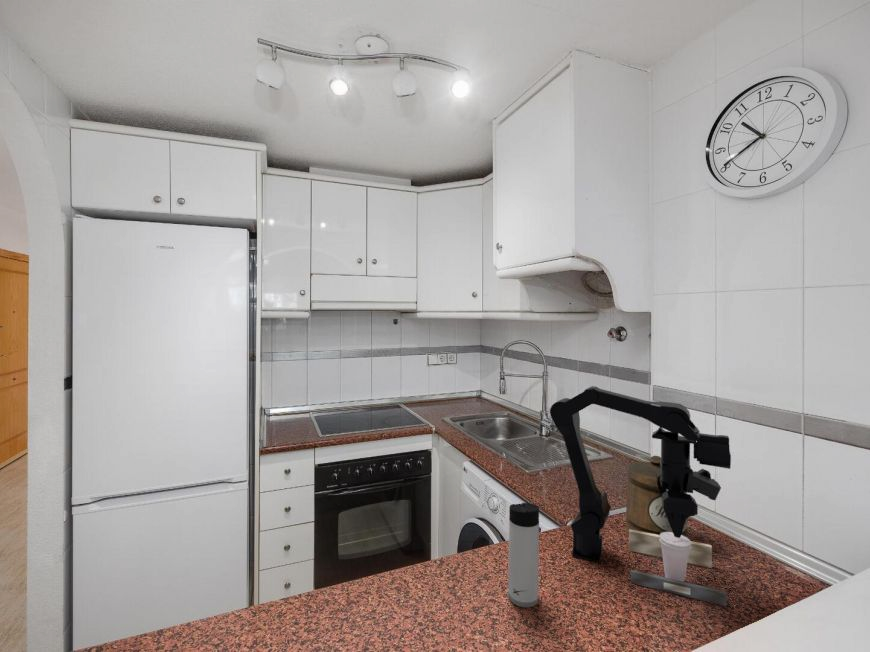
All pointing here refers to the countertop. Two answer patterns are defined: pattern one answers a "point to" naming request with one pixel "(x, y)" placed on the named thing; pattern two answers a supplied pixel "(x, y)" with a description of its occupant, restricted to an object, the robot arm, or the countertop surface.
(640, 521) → the wooden container
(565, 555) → the countertop surface
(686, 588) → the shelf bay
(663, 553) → the smoothie
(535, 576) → the travel mug
